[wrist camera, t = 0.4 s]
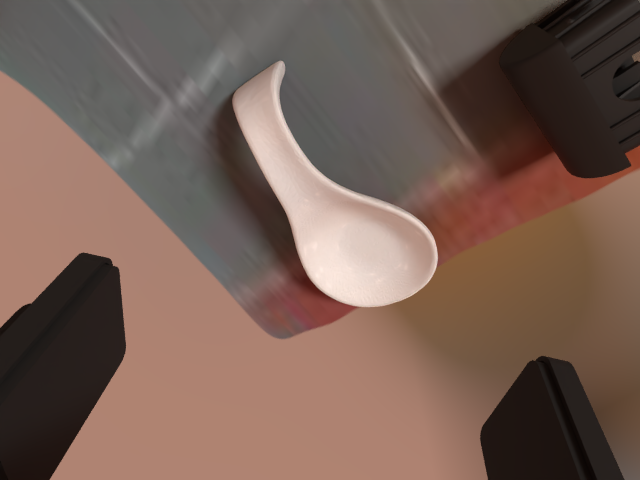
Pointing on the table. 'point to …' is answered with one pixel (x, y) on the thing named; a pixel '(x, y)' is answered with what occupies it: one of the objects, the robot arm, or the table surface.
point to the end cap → (582, 82)
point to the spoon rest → (333, 212)
